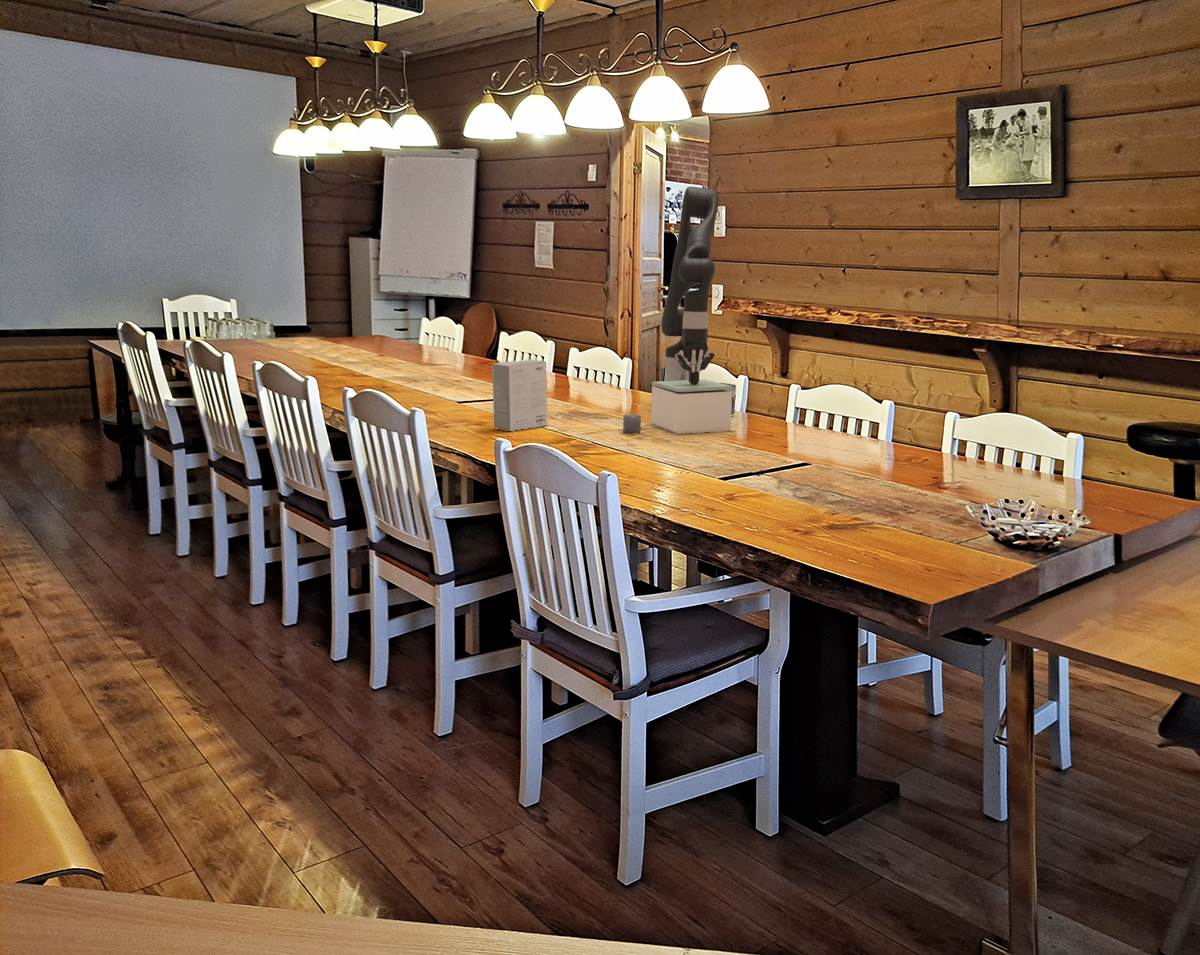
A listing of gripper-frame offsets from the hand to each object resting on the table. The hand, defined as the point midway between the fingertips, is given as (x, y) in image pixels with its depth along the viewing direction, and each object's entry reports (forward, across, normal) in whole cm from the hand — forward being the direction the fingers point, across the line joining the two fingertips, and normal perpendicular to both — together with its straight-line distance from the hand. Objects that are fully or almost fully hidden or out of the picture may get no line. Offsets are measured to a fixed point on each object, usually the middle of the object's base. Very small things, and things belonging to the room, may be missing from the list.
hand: (693, 384), depth 320 cm
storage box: (+14, 0, -2) cm, 14 cm away
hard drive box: (+14, +49, -19) cm, 54 cm away
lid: (+1, 0, -1) cm, 2 cm away
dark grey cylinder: (+14, +20, -1) cm, 24 cm away
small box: (+14, -18, -17) cm, 28 cm away
